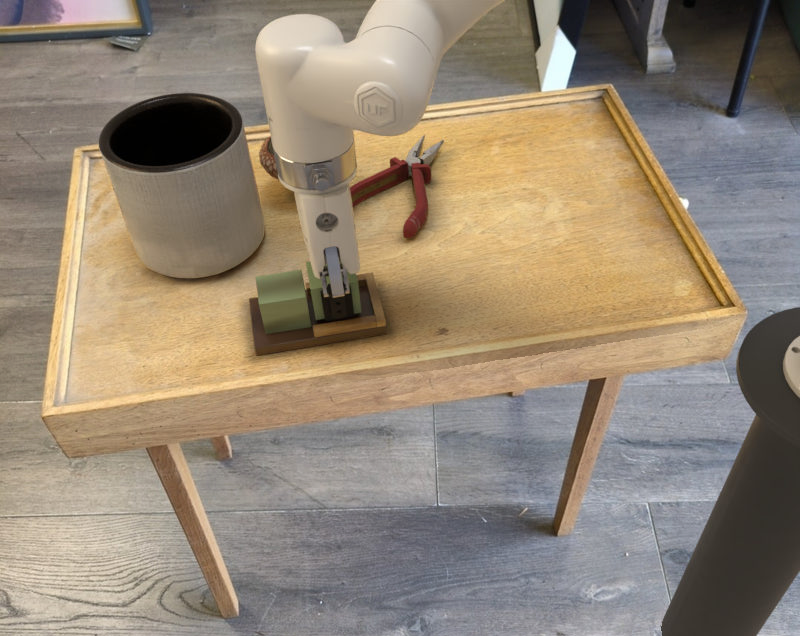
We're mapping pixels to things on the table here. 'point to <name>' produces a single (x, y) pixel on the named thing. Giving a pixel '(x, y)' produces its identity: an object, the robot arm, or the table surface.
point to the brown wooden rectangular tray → (308, 314)
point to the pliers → (399, 174)
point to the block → (317, 285)
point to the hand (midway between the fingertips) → (336, 300)
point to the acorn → (268, 158)
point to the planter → (184, 183)
